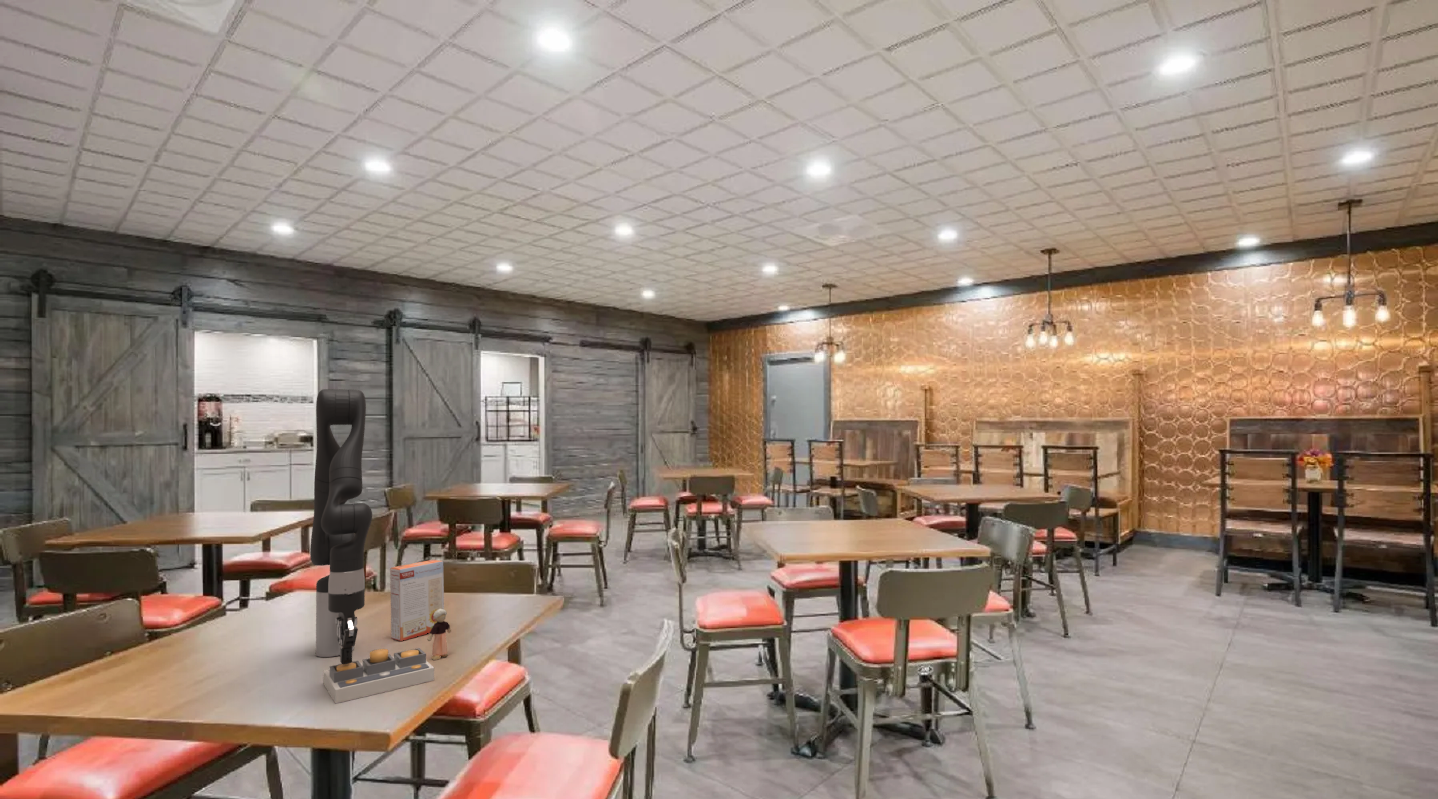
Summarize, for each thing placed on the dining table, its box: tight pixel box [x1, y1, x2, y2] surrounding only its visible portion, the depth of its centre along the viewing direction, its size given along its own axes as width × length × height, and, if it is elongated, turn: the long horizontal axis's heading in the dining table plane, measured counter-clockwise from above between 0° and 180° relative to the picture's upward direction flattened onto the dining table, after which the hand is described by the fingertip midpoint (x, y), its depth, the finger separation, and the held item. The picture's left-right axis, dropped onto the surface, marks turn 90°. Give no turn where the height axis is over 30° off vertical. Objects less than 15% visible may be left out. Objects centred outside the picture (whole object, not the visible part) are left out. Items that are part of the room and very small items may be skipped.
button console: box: [322, 647, 435, 704], centre depth 162 cm, size 16×21×5 cm
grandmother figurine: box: [426, 608, 452, 661], centre depth 180 cm, size 8×4×13 cm, turn 168°
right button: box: [401, 649, 419, 658], centre depth 167 cm, size 4×4×2 cm
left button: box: [337, 663, 356, 672], centre depth 158 cm, size 4×4×2 cm
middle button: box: [369, 648, 389, 663], centre depth 162 cm, size 4×4×2 cm
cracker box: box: [389, 559, 445, 642], centre depth 201 cm, size 14×6×21 cm, turn 144°
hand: (346, 663), depth 158 cm, fingers closed
